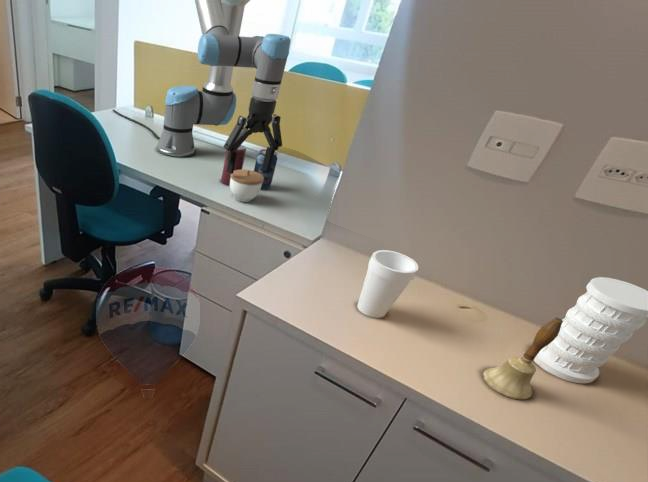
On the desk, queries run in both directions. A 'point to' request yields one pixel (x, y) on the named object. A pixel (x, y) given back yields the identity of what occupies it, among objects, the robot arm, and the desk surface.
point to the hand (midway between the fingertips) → (247, 170)
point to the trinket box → (245, 184)
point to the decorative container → (595, 329)
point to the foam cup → (385, 281)
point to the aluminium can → (238, 164)
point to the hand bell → (521, 366)
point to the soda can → (266, 173)
